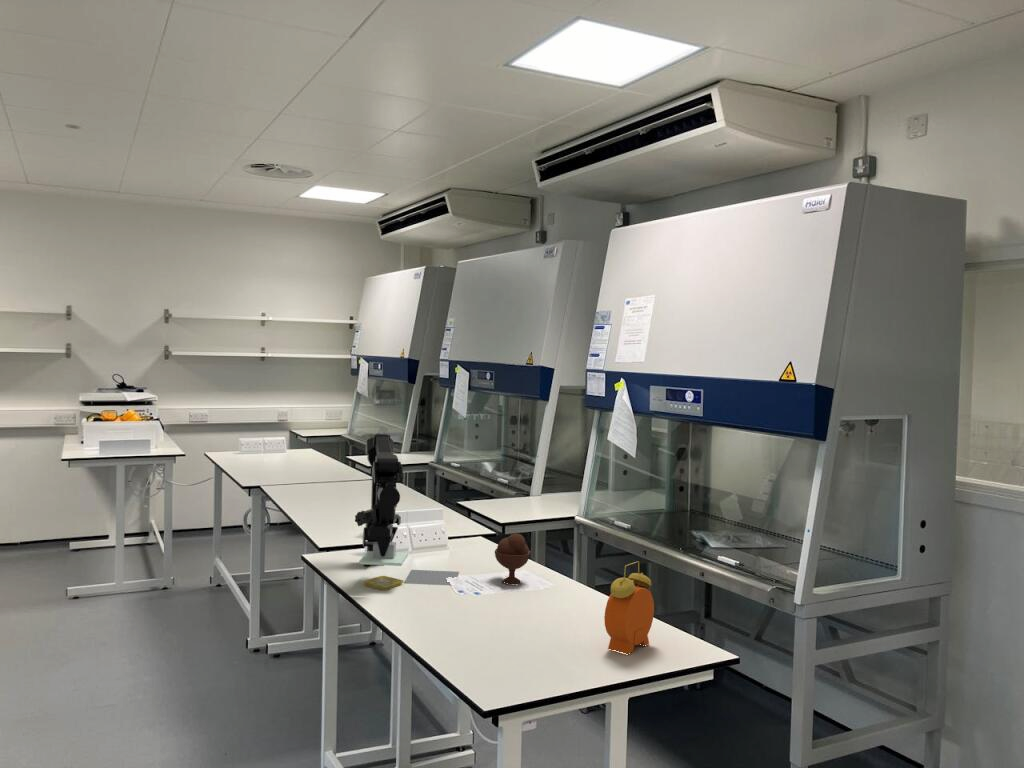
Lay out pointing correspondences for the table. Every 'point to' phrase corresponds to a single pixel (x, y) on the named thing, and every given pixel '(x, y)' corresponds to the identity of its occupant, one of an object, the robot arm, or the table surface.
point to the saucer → (385, 578)
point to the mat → (430, 577)
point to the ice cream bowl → (512, 555)
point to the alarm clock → (629, 612)
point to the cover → (389, 558)
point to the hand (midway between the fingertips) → (384, 554)
